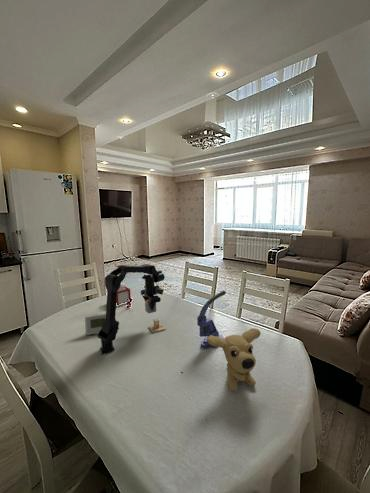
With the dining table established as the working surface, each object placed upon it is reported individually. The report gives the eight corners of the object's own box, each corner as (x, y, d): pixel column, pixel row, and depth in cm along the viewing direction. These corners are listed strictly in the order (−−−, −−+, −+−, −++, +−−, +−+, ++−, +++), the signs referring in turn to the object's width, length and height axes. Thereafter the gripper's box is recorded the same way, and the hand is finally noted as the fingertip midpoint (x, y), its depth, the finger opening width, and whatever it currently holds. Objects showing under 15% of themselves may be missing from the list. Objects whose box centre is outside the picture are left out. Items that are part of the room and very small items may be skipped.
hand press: (205, 352, 120) (205, 300, 115) (194, 345, 127) (193, 295, 122) (230, 340, 131) (230, 292, 127) (218, 333, 138) (219, 288, 134)
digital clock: (84, 336, 137) (82, 319, 136) (88, 328, 146) (87, 312, 144) (112, 334, 139) (111, 317, 137) (115, 326, 148) (114, 311, 146)
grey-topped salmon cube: (156, 311, 145) (155, 301, 144) (148, 313, 142) (147, 303, 141) (153, 308, 149) (152, 298, 148) (145, 310, 146) (144, 300, 145)
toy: (219, 405, 87) (220, 356, 84) (201, 371, 106) (201, 330, 103) (276, 390, 94) (278, 344, 91) (249, 361, 113) (251, 322, 110)
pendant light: (124, 298, 195) (122, 263, 191) (130, 302, 187) (128, 266, 182) (111, 302, 188) (109, 266, 184) (117, 306, 180) (115, 268, 175)
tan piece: (165, 329, 143) (164, 320, 142) (152, 333, 140) (152, 324, 139) (160, 324, 150) (159, 315, 149) (148, 327, 146) (147, 318, 146)
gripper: (168, 286, 139) (168, 311, 141) (155, 278, 155) (156, 301, 157) (150, 289, 133) (151, 315, 136) (139, 281, 149) (140, 304, 152)
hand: (150, 308), depth 145 cm, fingers closed on grey-topped salmon cube, 5 cm apart
